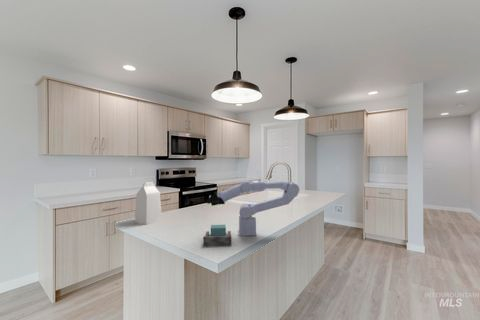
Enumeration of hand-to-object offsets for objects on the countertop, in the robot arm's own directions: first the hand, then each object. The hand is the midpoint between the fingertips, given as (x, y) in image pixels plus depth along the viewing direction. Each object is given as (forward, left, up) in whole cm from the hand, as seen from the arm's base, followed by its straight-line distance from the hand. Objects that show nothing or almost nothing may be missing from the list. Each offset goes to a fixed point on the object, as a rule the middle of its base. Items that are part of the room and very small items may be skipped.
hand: (209, 203), depth 125 cm
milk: (+42, -26, -17) cm, 52 cm away
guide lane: (-5, +10, -17) cm, 20 cm away
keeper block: (-5, +4, -17) cm, 18 cm away
